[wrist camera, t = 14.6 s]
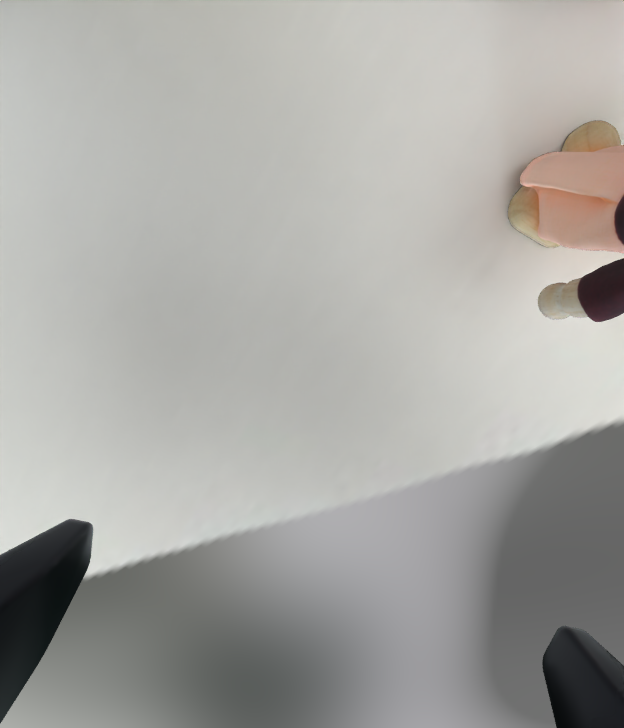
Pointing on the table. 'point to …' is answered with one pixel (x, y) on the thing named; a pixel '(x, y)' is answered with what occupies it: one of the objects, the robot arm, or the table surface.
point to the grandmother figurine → (578, 217)
